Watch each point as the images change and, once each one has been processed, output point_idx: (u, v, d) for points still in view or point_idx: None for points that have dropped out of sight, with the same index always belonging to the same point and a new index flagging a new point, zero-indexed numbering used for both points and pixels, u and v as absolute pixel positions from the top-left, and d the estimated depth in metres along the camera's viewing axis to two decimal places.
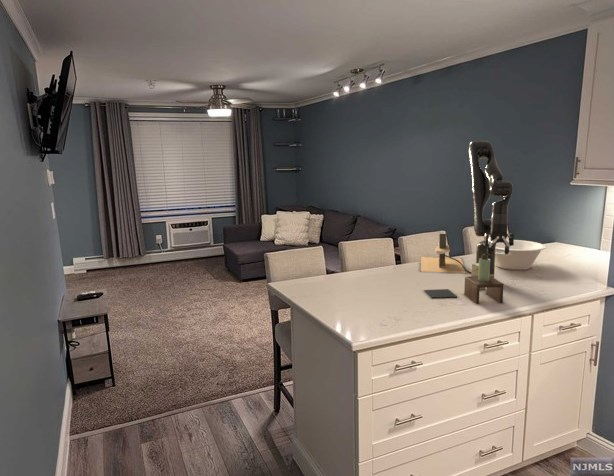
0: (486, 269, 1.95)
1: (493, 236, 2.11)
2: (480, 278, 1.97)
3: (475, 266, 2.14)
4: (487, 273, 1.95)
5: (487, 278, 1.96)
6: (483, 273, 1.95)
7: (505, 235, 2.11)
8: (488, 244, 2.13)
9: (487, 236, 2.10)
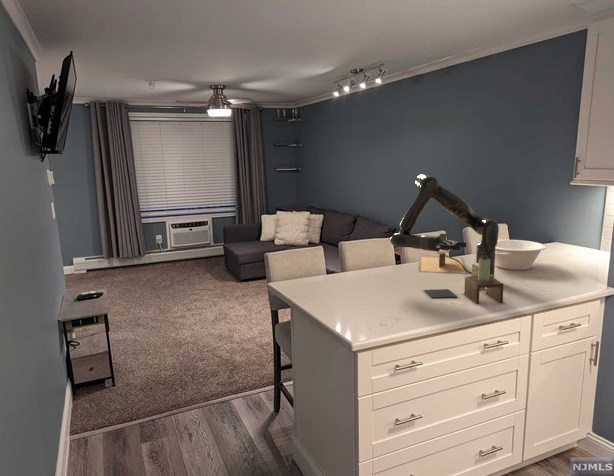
0: (486, 269, 1.95)
1: None
2: (480, 278, 1.97)
3: (475, 266, 2.14)
4: (487, 273, 1.95)
5: (487, 278, 1.96)
6: (483, 273, 1.95)
7: None
8: None
9: None
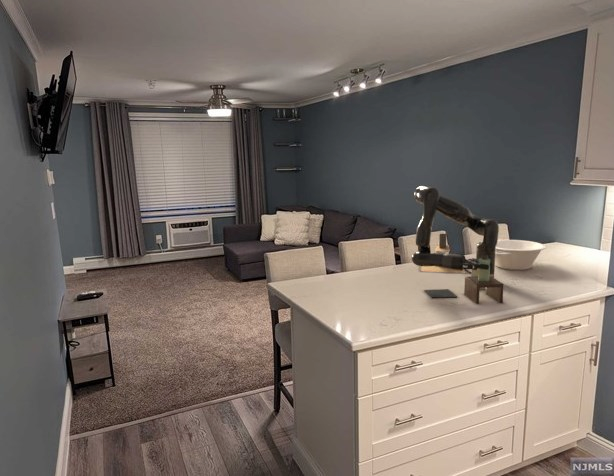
0: None
1: None
2: (480, 278, 1.97)
3: None
4: (487, 273, 1.95)
5: (487, 278, 1.96)
6: (483, 273, 1.95)
7: None
8: None
9: None
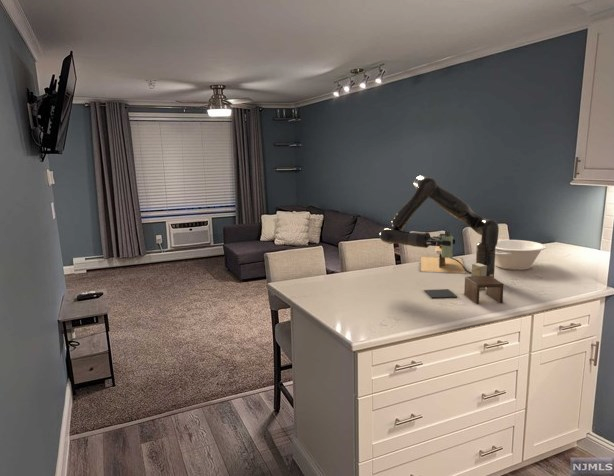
0: None
1: None
2: (443, 254, 2.02)
3: (475, 266, 2.14)
4: (450, 249, 2.01)
5: (450, 254, 2.01)
6: (445, 249, 2.01)
7: None
8: None
9: None
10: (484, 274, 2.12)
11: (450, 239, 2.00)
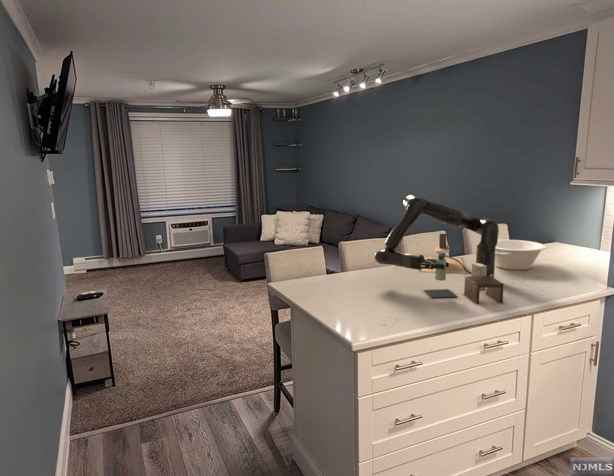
0: None
1: None
2: (437, 277, 2.05)
3: (475, 266, 2.14)
4: (443, 272, 2.04)
5: (443, 277, 2.04)
6: (439, 272, 2.04)
7: None
8: None
9: None
10: (484, 274, 2.12)
11: (443, 262, 2.03)
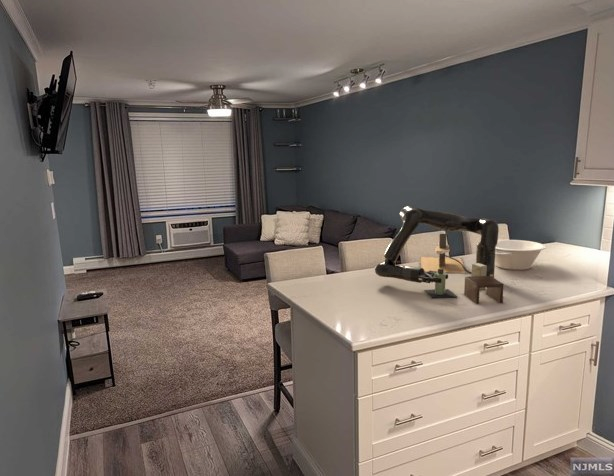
0: (442, 283, 2.05)
1: None
2: (436, 291, 2.06)
3: (475, 266, 2.14)
4: (443, 287, 2.05)
5: (443, 291, 2.05)
6: (439, 287, 2.05)
7: None
8: None
9: None
10: (484, 274, 2.12)
11: (443, 277, 2.04)
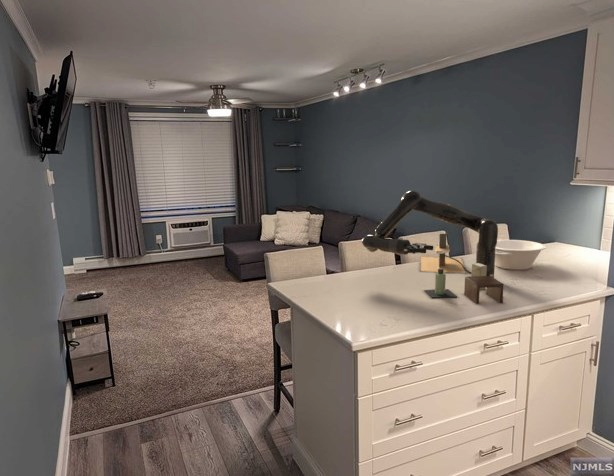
0: (442, 283, 2.05)
1: None
2: (436, 291, 2.06)
3: (475, 266, 2.14)
4: (443, 287, 2.05)
5: (443, 291, 2.05)
6: (439, 287, 2.05)
7: None
8: None
9: None
10: (484, 274, 2.12)
11: (443, 277, 2.04)
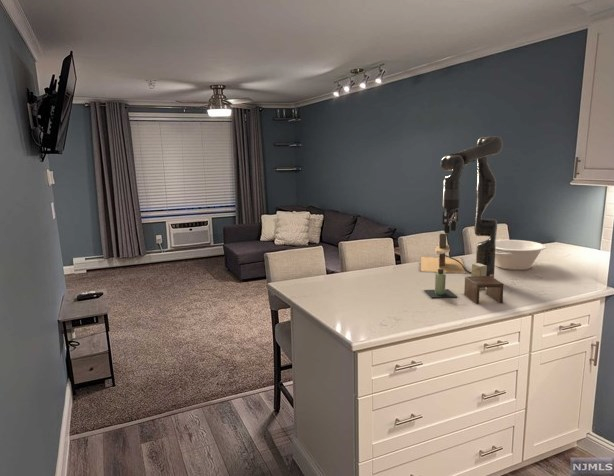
0: (442, 283, 2.05)
1: None
2: (436, 291, 2.06)
3: (475, 266, 2.14)
4: (443, 287, 2.05)
5: (443, 291, 2.05)
6: (439, 287, 2.05)
7: None
8: None
9: None
10: (484, 274, 2.12)
11: (443, 277, 2.04)
